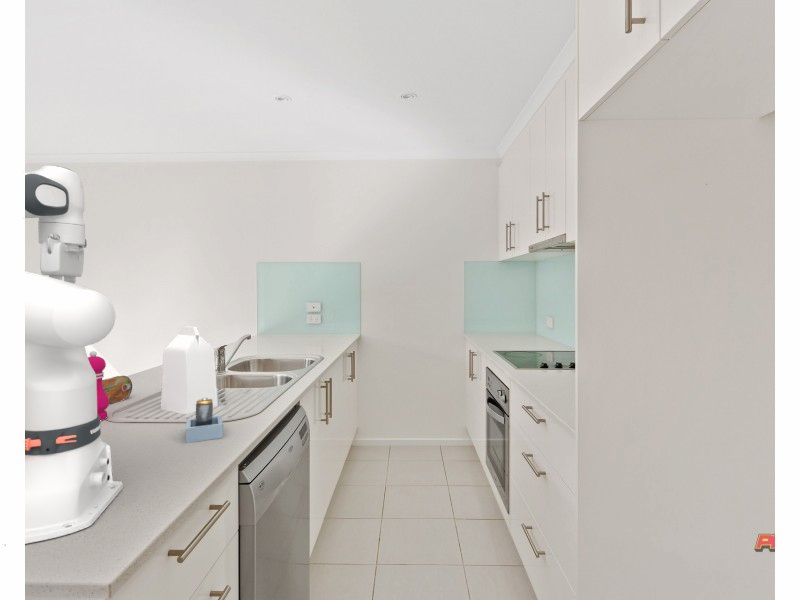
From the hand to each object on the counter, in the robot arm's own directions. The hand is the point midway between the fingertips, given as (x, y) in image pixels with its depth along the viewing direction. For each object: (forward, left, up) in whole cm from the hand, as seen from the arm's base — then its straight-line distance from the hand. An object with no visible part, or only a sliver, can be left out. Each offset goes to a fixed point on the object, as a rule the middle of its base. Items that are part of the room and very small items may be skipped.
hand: (63, 295), depth 106 cm
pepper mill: (+23, -1, -37) cm, 43 cm away
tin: (+43, -2, -37) cm, 57 cm away
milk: (+26, -26, -37) cm, 52 cm away
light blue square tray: (-5, -30, -36) cm, 48 cm away
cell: (-5, -30, -36) cm, 47 cm away
